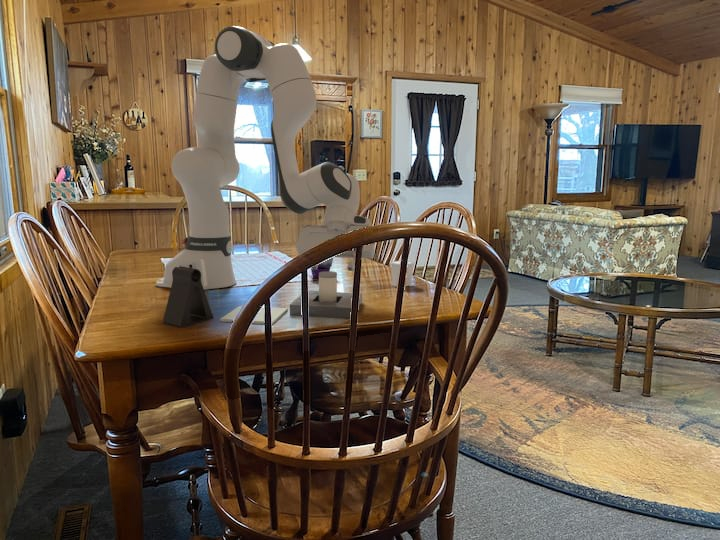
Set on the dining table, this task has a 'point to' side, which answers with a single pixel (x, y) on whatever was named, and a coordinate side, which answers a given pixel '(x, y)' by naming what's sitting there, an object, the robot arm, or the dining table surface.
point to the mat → (260, 318)
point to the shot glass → (396, 270)
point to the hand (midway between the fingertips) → (331, 268)
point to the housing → (325, 306)
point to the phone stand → (187, 299)
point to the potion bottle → (322, 268)
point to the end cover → (328, 286)
